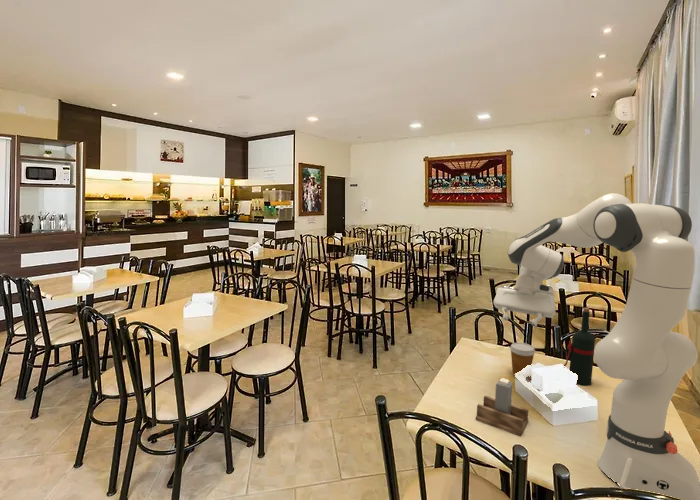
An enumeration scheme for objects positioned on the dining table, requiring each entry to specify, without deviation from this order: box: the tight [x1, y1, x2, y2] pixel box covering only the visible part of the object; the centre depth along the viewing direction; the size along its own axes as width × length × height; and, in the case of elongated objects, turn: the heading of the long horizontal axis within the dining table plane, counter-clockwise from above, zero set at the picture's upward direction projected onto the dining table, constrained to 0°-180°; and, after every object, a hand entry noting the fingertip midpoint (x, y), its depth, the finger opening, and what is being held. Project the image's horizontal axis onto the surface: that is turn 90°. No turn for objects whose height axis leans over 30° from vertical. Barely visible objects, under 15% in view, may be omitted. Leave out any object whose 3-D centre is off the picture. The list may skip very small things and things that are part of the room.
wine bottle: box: [563, 307, 596, 387], centre depth 146 cm, size 8×10×30 cm
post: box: [494, 377, 513, 415], centre depth 121 cm, size 4×4×13 cm
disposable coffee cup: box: [509, 342, 536, 375], centre depth 153 cm, size 10×10×12 cm
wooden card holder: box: [474, 395, 529, 437], centre depth 122 cm, size 14×10×4 cm
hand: (519, 322), depth 130 cm, fingers open, 8 cm apart
